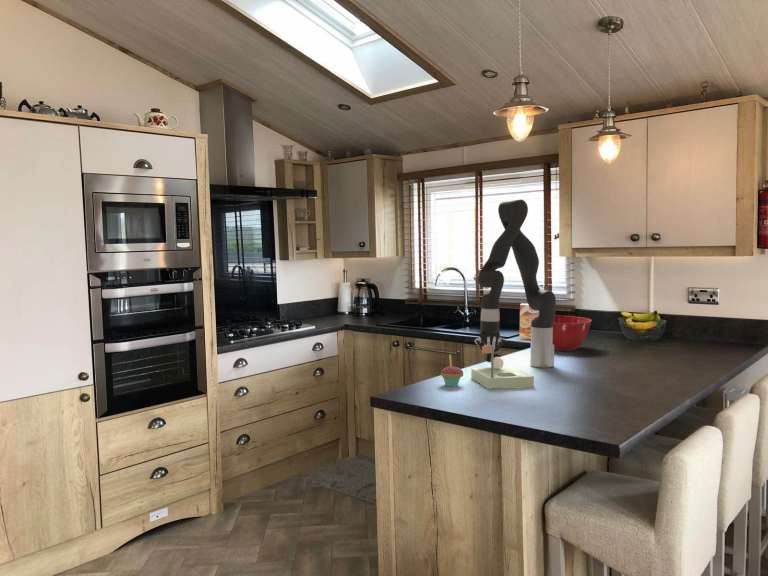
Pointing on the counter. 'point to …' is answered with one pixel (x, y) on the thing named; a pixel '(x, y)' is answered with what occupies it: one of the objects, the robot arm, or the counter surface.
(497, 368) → the ball
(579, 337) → the mixing bowl
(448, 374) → the cupcake
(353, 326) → the counter surface
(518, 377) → the board
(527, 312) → the coffeecake box
